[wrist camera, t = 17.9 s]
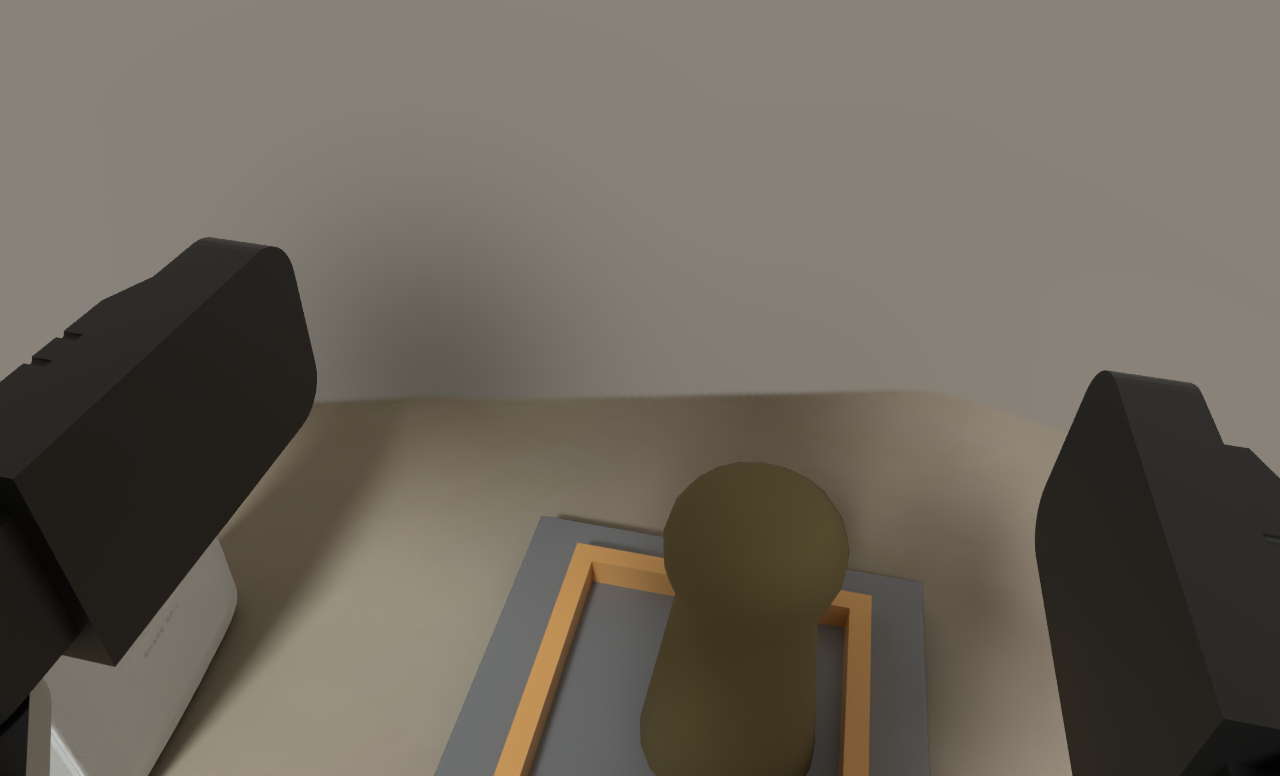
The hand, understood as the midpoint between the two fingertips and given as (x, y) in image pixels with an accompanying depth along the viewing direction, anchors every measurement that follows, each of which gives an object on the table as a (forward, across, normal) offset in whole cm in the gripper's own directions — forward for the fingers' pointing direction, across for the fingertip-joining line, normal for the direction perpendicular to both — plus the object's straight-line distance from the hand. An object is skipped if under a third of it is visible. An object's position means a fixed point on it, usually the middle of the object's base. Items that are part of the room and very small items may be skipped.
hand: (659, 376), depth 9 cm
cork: (+10, -1, +23) cm, 26 cm away
